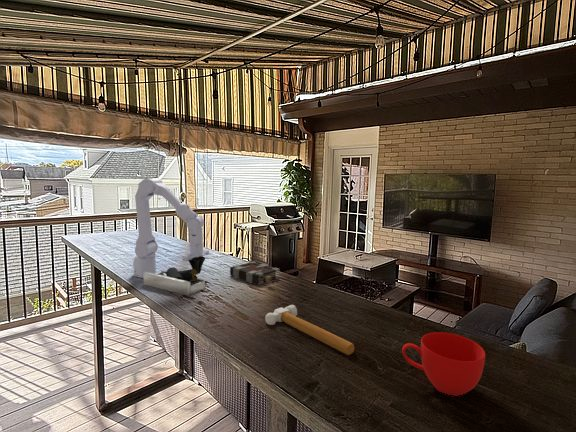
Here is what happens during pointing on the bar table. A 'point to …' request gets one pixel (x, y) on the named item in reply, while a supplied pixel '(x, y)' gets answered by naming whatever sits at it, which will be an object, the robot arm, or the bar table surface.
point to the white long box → (172, 283)
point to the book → (254, 272)
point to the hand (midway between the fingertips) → (196, 273)
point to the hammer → (308, 328)
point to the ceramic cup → (449, 362)
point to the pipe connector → (182, 274)
